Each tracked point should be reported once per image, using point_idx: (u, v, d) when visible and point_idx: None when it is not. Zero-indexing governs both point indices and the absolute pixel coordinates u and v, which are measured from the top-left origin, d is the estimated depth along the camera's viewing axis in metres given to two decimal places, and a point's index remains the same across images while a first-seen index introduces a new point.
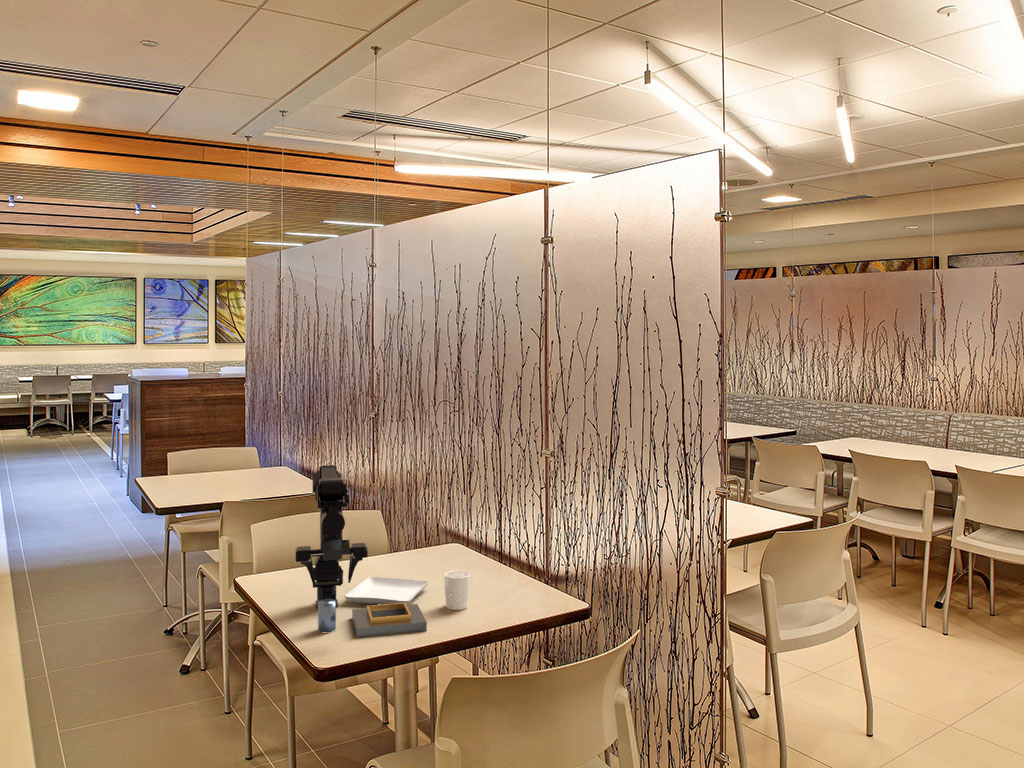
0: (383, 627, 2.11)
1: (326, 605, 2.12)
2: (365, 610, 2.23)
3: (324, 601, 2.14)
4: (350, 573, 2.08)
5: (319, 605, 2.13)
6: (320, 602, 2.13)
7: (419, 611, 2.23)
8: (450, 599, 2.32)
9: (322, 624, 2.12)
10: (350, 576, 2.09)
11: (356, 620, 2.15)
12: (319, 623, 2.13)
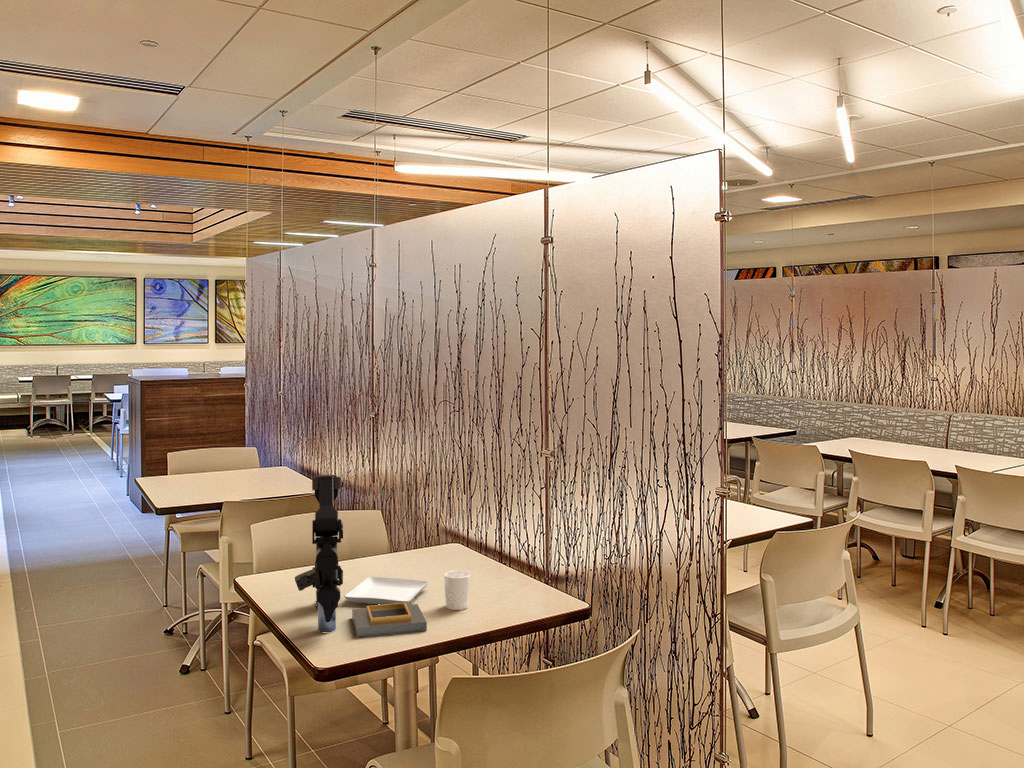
0: (383, 627, 2.11)
1: None
2: (365, 610, 2.23)
3: None
4: None
5: (319, 605, 2.13)
6: None
7: (419, 611, 2.23)
8: (450, 599, 2.32)
9: (322, 624, 2.12)
10: (324, 615, 2.09)
11: (356, 620, 2.15)
12: (319, 623, 2.13)
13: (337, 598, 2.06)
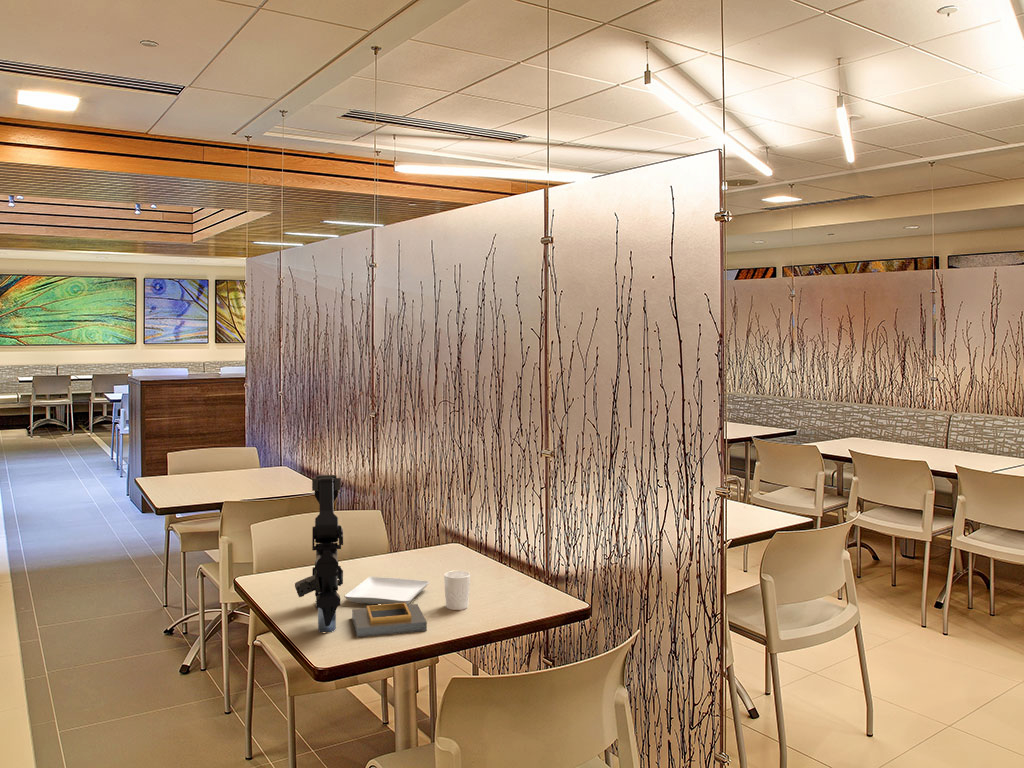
0: (383, 627, 2.11)
1: None
2: (365, 610, 2.23)
3: None
4: (323, 616, 2.11)
5: None
6: None
7: (419, 611, 2.23)
8: (450, 599, 2.32)
9: (322, 624, 2.12)
10: (324, 619, 2.11)
11: (356, 620, 2.15)
12: (319, 623, 2.13)
13: (337, 605, 2.06)
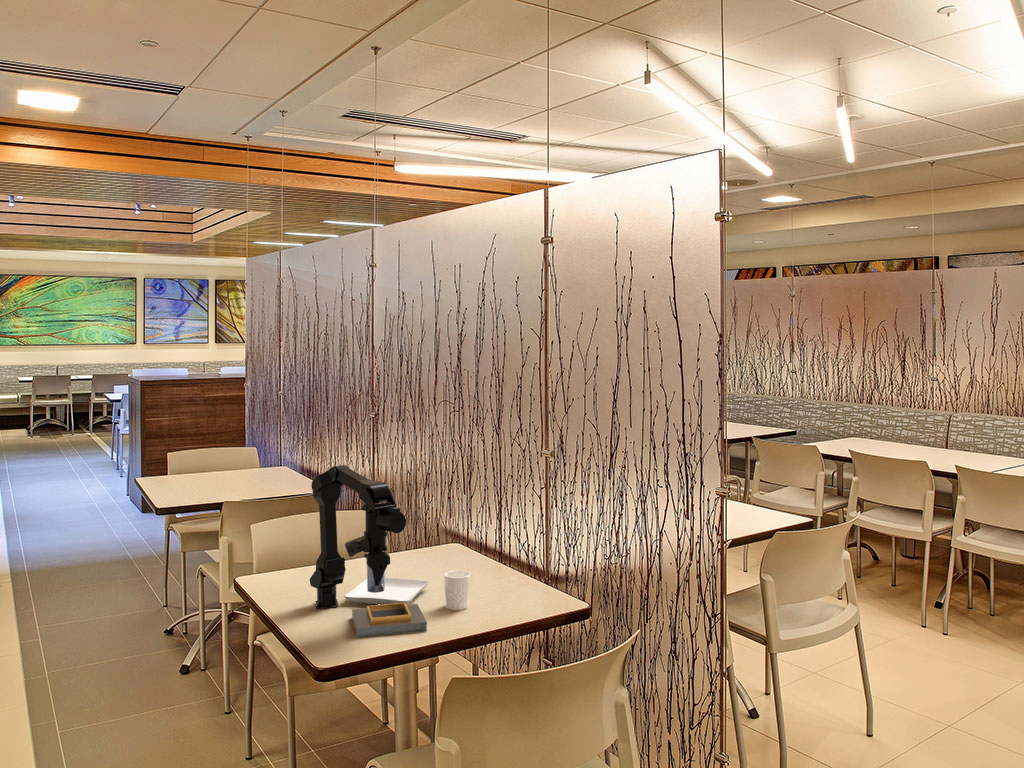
0: (383, 627, 2.11)
1: None
2: (365, 610, 2.23)
3: None
4: (373, 576, 2.14)
5: None
6: None
7: (419, 611, 2.23)
8: (450, 599, 2.32)
9: (371, 583, 2.15)
10: None
11: (356, 620, 2.15)
12: (368, 583, 2.16)
13: (387, 563, 2.09)
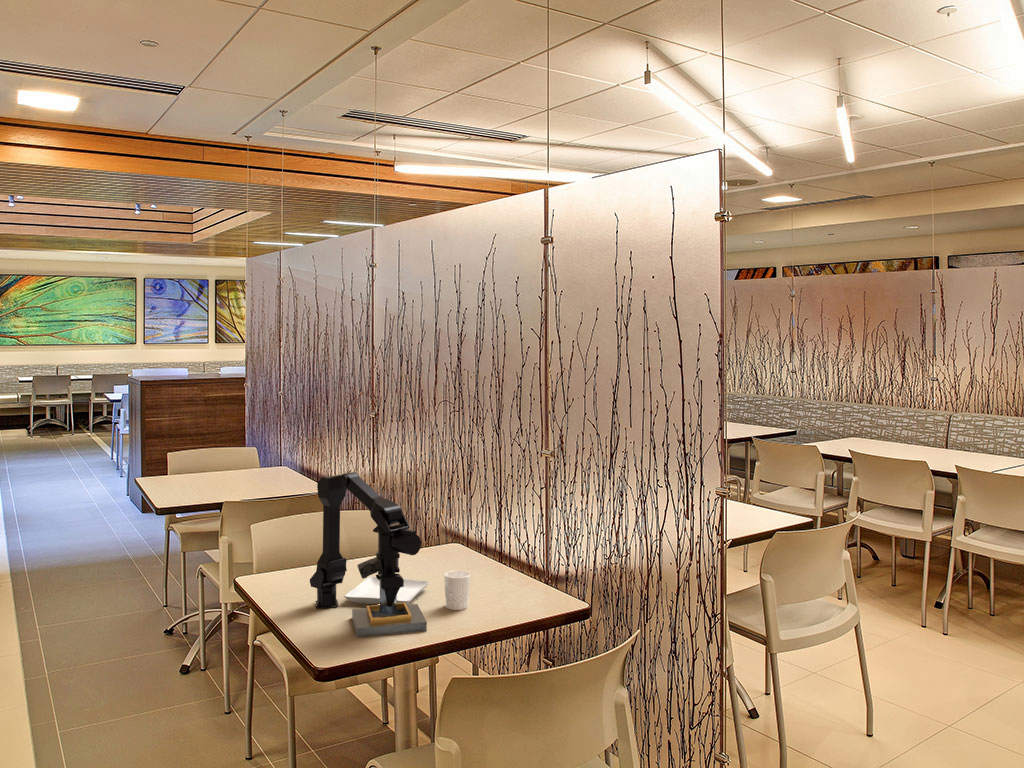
0: (383, 627, 2.11)
1: None
2: (365, 610, 2.23)
3: None
4: None
5: None
6: None
7: (419, 611, 2.23)
8: (450, 599, 2.32)
9: (384, 605, 2.17)
10: (386, 600, 2.16)
11: (356, 620, 2.15)
12: (381, 604, 2.17)
13: (401, 586, 2.11)
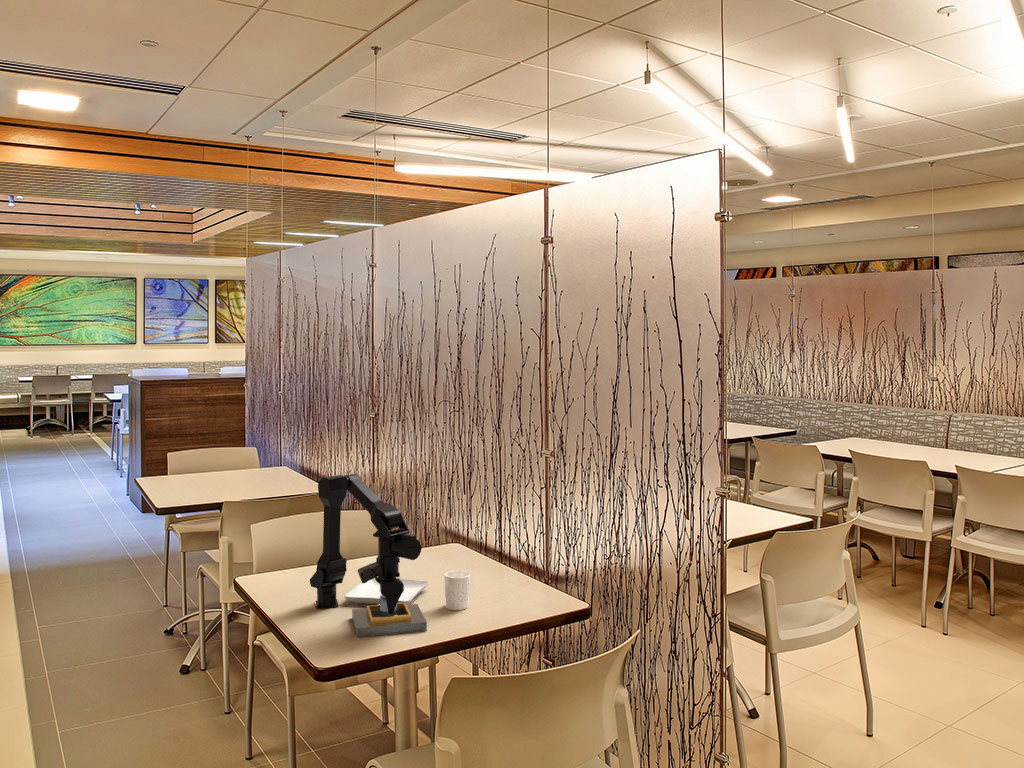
0: (383, 627, 2.11)
1: None
2: (365, 610, 2.23)
3: None
4: None
5: (381, 600, 2.17)
6: (382, 597, 2.18)
7: (419, 611, 2.23)
8: (450, 599, 2.32)
9: None
10: (387, 607, 2.14)
11: (356, 620, 2.15)
12: None
13: (401, 590, 2.11)
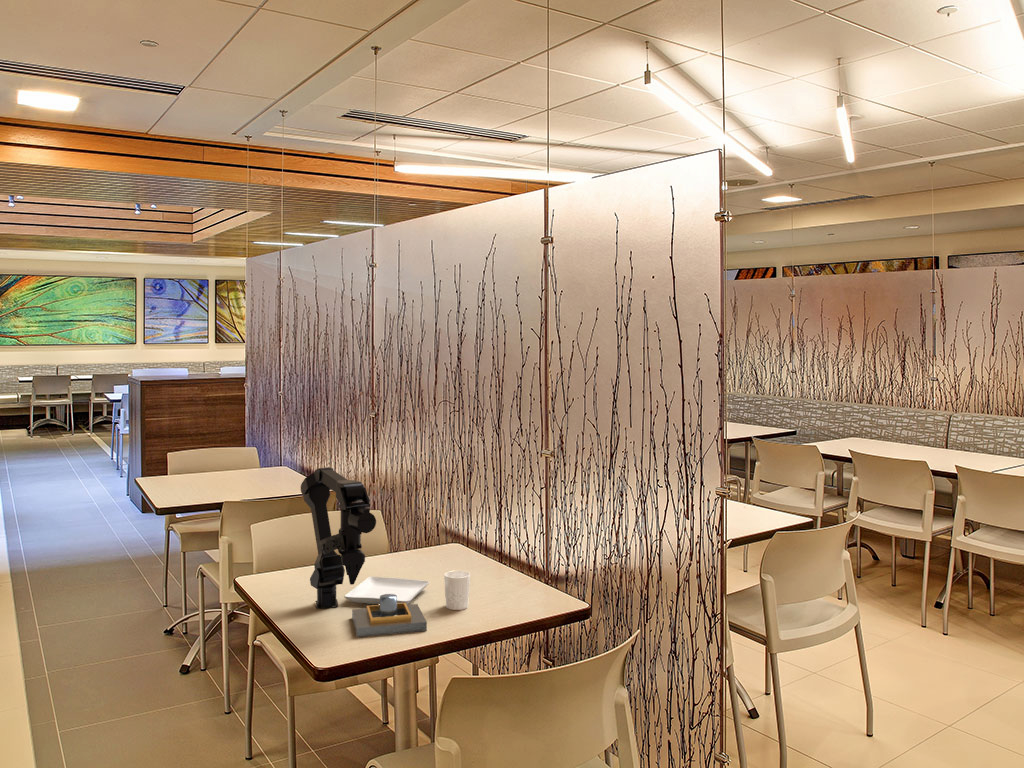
0: (383, 627, 2.11)
1: (389, 600, 2.17)
2: (365, 610, 2.23)
3: (385, 596, 2.19)
4: (348, 575, 2.17)
5: (381, 600, 2.17)
6: (382, 597, 2.18)
7: (419, 611, 2.23)
8: (450, 599, 2.32)
9: None
10: None
11: (356, 620, 2.15)
12: None
13: (362, 561, 2.14)
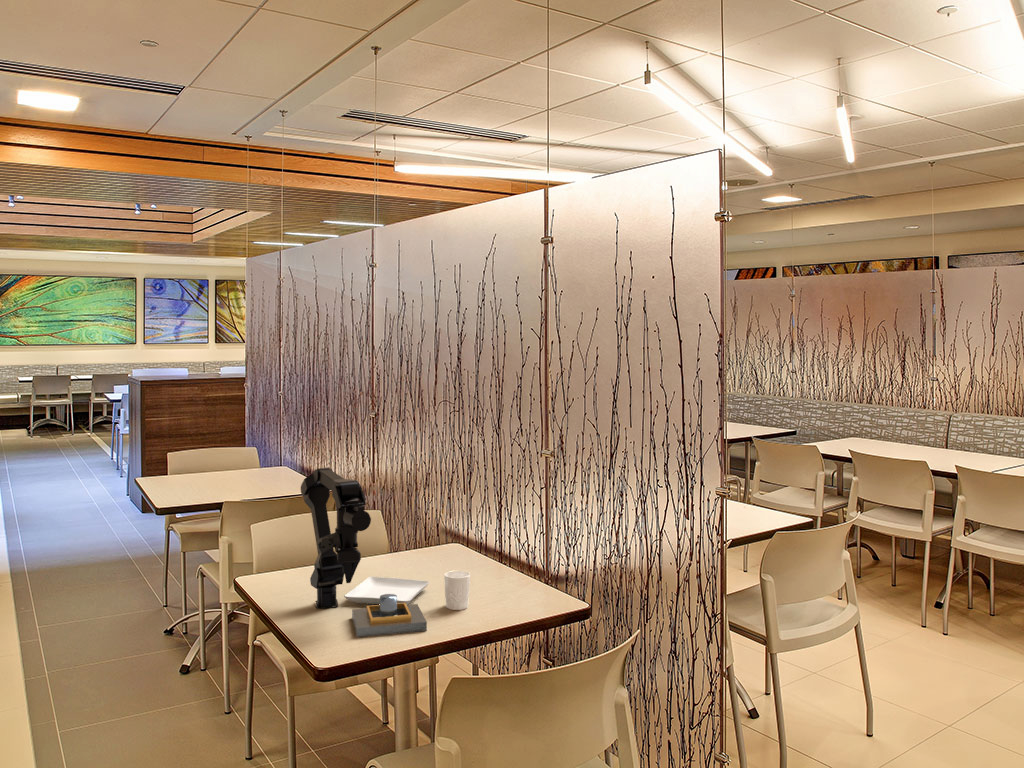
0: (383, 627, 2.11)
1: (389, 600, 2.17)
2: (365, 610, 2.23)
3: (385, 596, 2.19)
4: (344, 573, 2.17)
5: (381, 600, 2.17)
6: (382, 597, 2.18)
7: (419, 611, 2.23)
8: (450, 599, 2.32)
9: None
10: (345, 576, 2.17)
11: (356, 620, 2.15)
12: None
13: (358, 559, 2.14)
